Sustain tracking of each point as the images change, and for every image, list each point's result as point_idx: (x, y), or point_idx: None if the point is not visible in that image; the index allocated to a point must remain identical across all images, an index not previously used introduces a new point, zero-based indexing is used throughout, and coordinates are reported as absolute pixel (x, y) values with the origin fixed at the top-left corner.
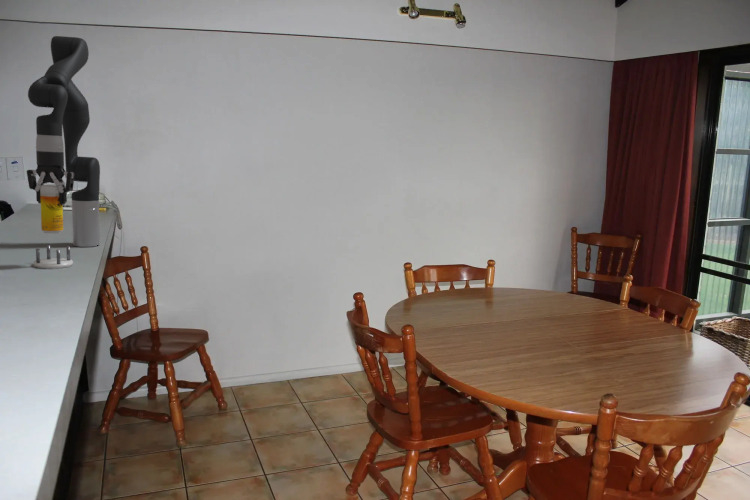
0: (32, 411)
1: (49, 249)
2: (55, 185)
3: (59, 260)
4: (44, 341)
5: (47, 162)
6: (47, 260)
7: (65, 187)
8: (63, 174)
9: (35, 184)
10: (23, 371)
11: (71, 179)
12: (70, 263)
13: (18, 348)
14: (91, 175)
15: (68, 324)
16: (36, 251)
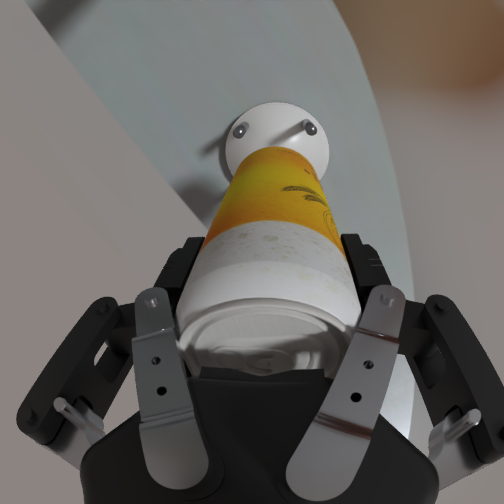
0: (401, 432)
1: (245, 132)
2: (281, 323)
3: None
4: (395, 408)
5: None
6: (253, 146)
7: (399, 325)
8: (413, 462)
9: (104, 333)
10: (391, 424)
11: (476, 395)
12: (328, 154)
13: (382, 415)
14: None
15: (406, 390)
16: None
